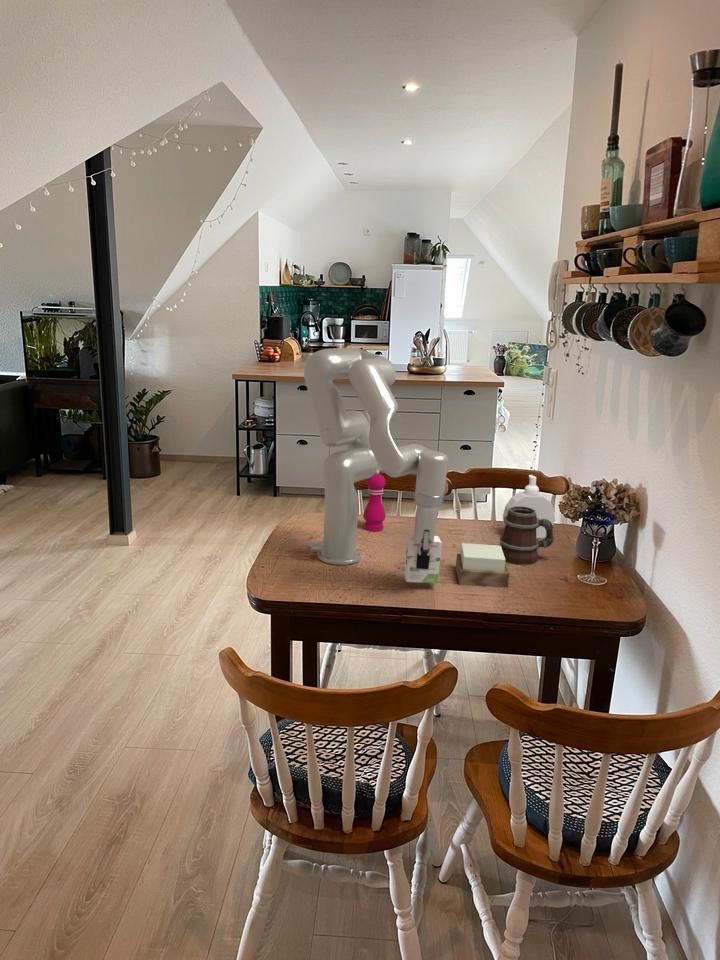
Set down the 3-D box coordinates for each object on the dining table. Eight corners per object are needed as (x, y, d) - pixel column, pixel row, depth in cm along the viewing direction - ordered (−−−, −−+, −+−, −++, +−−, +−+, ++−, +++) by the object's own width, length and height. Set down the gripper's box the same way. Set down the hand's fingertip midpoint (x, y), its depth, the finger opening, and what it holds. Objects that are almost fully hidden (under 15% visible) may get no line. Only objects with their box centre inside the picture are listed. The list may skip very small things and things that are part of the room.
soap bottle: (547, 533, 244) (553, 475, 239) (553, 538, 239) (560, 479, 234) (500, 533, 242) (506, 474, 237) (505, 538, 237) (511, 478, 232)
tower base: (459, 586, 199) (460, 570, 197) (455, 568, 211) (456, 553, 210) (507, 589, 198) (509, 573, 197) (501, 571, 211) (502, 556, 210)
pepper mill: (361, 530, 238) (363, 471, 233) (364, 524, 245) (367, 465, 239) (383, 533, 237) (386, 472, 231) (386, 526, 244) (389, 467, 238)
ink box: (434, 575, 199) (439, 535, 195) (437, 583, 194) (442, 542, 191) (403, 574, 198) (407, 533, 195) (405, 582, 193) (409, 540, 190)
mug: (498, 562, 216) (503, 514, 212) (497, 548, 227) (502, 502, 223) (553, 568, 214) (559, 519, 210) (549, 553, 225) (555, 507, 221)
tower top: (463, 569, 199) (464, 556, 198) (460, 554, 209) (461, 543, 208) (504, 572, 198) (505, 559, 197) (499, 557, 209) (500, 545, 208)
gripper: (413, 487, 198) (407, 550, 203) (414, 508, 181) (408, 575, 187) (441, 490, 198) (434, 553, 203) (445, 510, 181) (437, 578, 186)
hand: (422, 563), depth 195 cm, fingers closed on ink box, 5 cm apart
